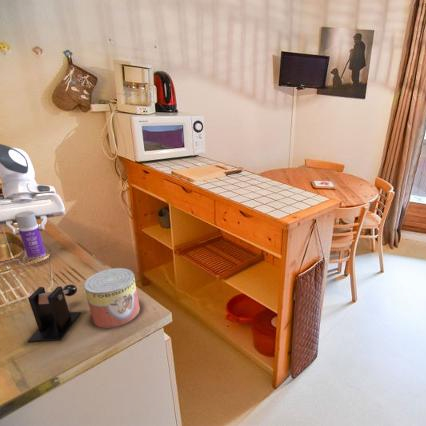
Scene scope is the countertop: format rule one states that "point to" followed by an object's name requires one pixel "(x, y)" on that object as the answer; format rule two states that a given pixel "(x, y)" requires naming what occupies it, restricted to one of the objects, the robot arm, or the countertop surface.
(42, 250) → the container
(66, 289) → the lever
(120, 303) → the canned food
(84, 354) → the countertop surface
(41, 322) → the bracket
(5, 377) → the countertop surface
